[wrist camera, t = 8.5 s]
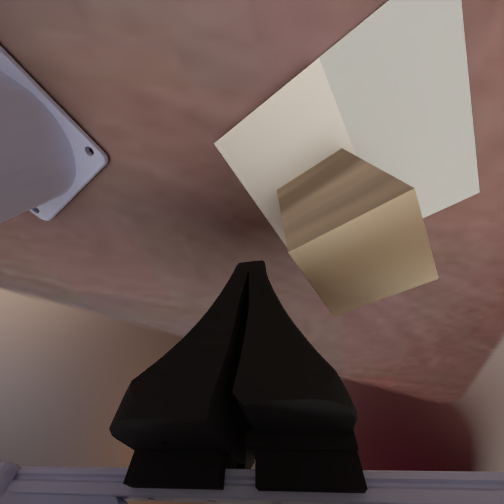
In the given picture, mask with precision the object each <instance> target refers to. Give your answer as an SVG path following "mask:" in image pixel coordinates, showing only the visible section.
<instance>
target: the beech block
mask: <svg viewBox="0 0 504 504" xmlns="http://www.w3.org/2000/svg"><path fill="white" fill-rule="evenodd" d="M277 194H278V200H279V205H280V211H281V216H282V222H283V227H284V233H285V238H286V244H287V249H288V253H289V254H290V256H291V257H292V259H293V260H294V261H295V263H296V264H297V266H298V267H299V268H300V270H301V271H302V273H303V274H304V275H305V277H306V278H307V280H308V281H309V282H310V284H311V285H312V287H313V288H314V289H315V291H316V292H317V294H318V295H319V297H320V298H321V299H322V301H323V302H324V304H325V305H326V306H327V308H328V309H329V311H330V312H331V313H332V315H333V316H336V315H339V314H341V313H344V312H347V311H350V310H353V309H355V308H358V307H361V306H364V305H367V304H369V303H372V302H375V301H378V300H381V299H383V298H386V297H389V296H392V295H394V294H397V293H400V292H403V291H406V290H408V289H411V288H414V287H417V286H420V285H422V284H425V283H428V282H431V281H433V280H436V279H439V278H438V274H437V270H436V267H435V263H434V259H433V255H432V252H431V248H430V244H429V240H428V237H427V233H426V229H425V225H424V221H423V218H422V214H421V210H420V206H419V203H418V199H417V195H416V191H415V188H414V187H412V186H410V185H408V184H406V183H404V182H403V181H401V180H399V179H397V178H395V177H394V176H392V175H390V174H388V173H386V172H384V171H383V170H381V169H379V168H377V167H375V166H374V165H372V164H370V163H368V162H366V161H364V160H363V159H361V158H359V157H357V156H355V155H354V154H352V153H350V152H348V151H346V150H344V149H343V148H342V149H340V150H338V151H337V152H335V153H334V154H332V155H331V156H329V157H327V158H326V159H324V160H323V161H321V162H320V163H318V164H316V165H315V166H313V167H312V168H310V169H309V170H307V171H305V172H304V173H302V174H301V175H299V176H298V177H296V178H294V179H293V180H291V181H290V182H288V183H286V184H285V185H283V186H282V187H280V188H279V189H277Z"/></svg>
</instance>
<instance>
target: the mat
mask: <svg viewBox="0 0 504 504" xmlns="http://www.w3.org/2000/svg"><path fill="white" fill-rule="evenodd" d="M319 59H320V62H321V64H322V67H323V70H324V72H325V75H326V78H327V80H328V83H329V85H330V88H331V91H332V93H333V96H334V98H335V101H336V104H337V106H338V109H339V112H340V114H341V117H342V119H343V122H344V125H345V127H346V130H347V133H348V135H349V138H350V140H351V143H352V146H353V148H354V151H355V153H356V156H357V157H359V158H361V159H363V160H364V161H366V162H368V163H370V164H372V165H374V166H375V167H377V168H379V169H381V170H383V171H384V172H386V173H388V174H390V175H392V176H394V177H395V178H397V179H399V180H401V181H403V182H404V183H406V184H408V185H410V186H412V187H414V188H415V191H416V195H417V199H418V203H419V206H420V210H421V214H422V218H425V217H427V216H429V215H431V214H433V213H435V212H438V211H440V210H442V209H444V208H446V207H449V206H451V205H453V204H455V203H457V202H460V201H462V200H464V199H466V198H468V197H471V196H473V195H475V194H477V193H479V181H478V171H477V160H476V150H475V139H474V129H473V118H472V108H471V98H470V87H469V77H468V66H467V56H466V45H465V35H464V24H463V14H462V3H461V0H389V1H387V2H386V3H385V4H384V5H382V6H381V7H380V8H379V9H378V10H376V11H375V12H374V13H373V14H371V15H370V16H369V17H368V18H367V19H365V20H364V21H363V22H362V23H360V24H359V25H358V26H357V27H356V28H354V29H353V30H352V31H351V32H349V33H348V34H347V35H346V36H345V37H343V38H342V39H341V40H340V41H338V42H337V43H336V44H335V45H334V46H332V47H331V48H330V49H329V50H327V51H326V52H325V53H324V54H323V55H321V56H320V57H319ZM316 60H317V59H316Z"/></svg>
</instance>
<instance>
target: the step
mask: <svg viewBox="0 0 504 504" xmlns="http://www.w3.org/2000/svg"><path fill="white" fill-rule="evenodd" d="M214 144H215V146H216V147H217V149H218V150H219V152H220V153H221V154H222V156H223V157H224V159H225V160H226V162H227V163H228V164H229V166H230V167H231V169H232V170H233V172H234V173H235V174H236V176H237V177H238V179H239V180H240V181H241V183H242V184H243V186H244V187H245V189H246V190H247V191H248V193H249V194H250V196H251V197H252V199H253V200H254V201H255V203H256V204H257V206H258V207H259V209H260V210H261V211H262V213H263V214H264V216H265V217H266V219H267V220H268V221H269V223H270V224H271V226H272V227H273V228H274V230H275V231H276V233H277V234H278V236H279V237H280V238H281V240H282V241H283V243H284V244H285V246H286V247H287V244H286V238H285V233H284V227H283V222H282V216H281V211H280V205H279V200H278V194H277V189H279V188H280V187H282V186H283V185H285V184H286V183H288V182H290V181H291V180H293V179H294V178H296V177H298V176H299V175H301V174H302V173H304V172H305V171H307V170H309V169H310V168H312V167H313V166H315V165H316V164H318V163H320V162H321V161H323V160H324V159H326V158H327V157H329V156H331V155H332V154H334V153H335V152H337V151H338V150H340V149H342V148H343V149H344V150H346V151H348V152H350V153H352V154H354V155H355V156H356V153H355V151H354V148H353V146H352V143H351V140H350V138H349V135H348V133H347V130H346V127H345V125H344V122H343V119H342V117H341V114H340V112H339V109H338V106H337V104H336V101H335V98H334V96H333V93H332V91H331V88H330V85H329V83H328V80H327V78H326V75H325V72H324V70H323V67H322V64H321V62H320V59H319V58H318V59H317V60H315V61H314V62H313V63H312V64H310V65H309V66H308V67H307V68H305V69H304V70H303V71H302V72H301V73H299V74H298V75H297V76H296V77H294V78H293V79H292V80H291V81H290V82H288V83H287V84H286V85H285V86H283V87H282V88H281V89H280V90H279V91H277V92H276V93H275V94H274V95H272V96H271V97H270V98H269V99H268V100H266V101H265V102H264V103H263V104H261V105H260V106H259V107H258V108H257V109H255V110H254V111H253V112H252V113H250V114H249V115H248V116H247V117H246V118H244V119H243V120H242V121H241V122H239V123H238V124H237V125H236V126H235V127H233V128H232V129H231V130H230V131H228V132H227V133H226V134H225V135H224V136H222V137H221V138H220V139H219V140H218V141H216V142H215V143H214Z"/></svg>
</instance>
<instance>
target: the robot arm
mask: <svg viewBox="0 0 504 504" xmlns="http://www.w3.org/2000/svg"><path fill="white" fill-rule="evenodd" d="M89 147H90V148H92V150H93V151H94V154H92V153H91V152H90V150H89ZM107 163H108V157H107V155H106V154H105V152H104V151H103V150H102V149H101V148H100V147H99V146H98V145H97V144H96V143H95V142H94V141H93V140H92V139H91V138H90V137H89V136H88V135H87V134H86V133H85V132H84V131H83V130H82V129H81V128H80V127H79V126H78V125H77V124H76V123H75V122H74V121H73V120H72V119H71V118H70V117H69V116H68V114H67V113H66V112H65V111H64V110H63V109H62V108H61V107H60V106H59V105H58V104H57V103H56V102H55V101H54V100H53V99H52V98H51V97H50V96H49V95H48V94H47V93H46V92H45V91H44V90H43V89H42V88H41V87H40V86H39V85H38V84H37V83H36V82H35V81H34V80H33V79H32V78H31V77H30V76H29V75H28V74H27V72H26V71H25V70H24V69H23V68H22V67H21V66H20V65H19V64H18V63H17V62H16V61H15V60H14V59H13V58H12V57H11V56H10V55H9V54H8V53H7V52H6V51H5V50H4V49H3V48H2V47H1V46H0V224H1V223H3V222H5V221H7V220H9V219H11V218H14V217H16V216H18V215H20V214H22V213H24V212H27V211H31V212H32V213H33V214H35V215H36V216H37V217H39V218H40V219H42V220H45V221H49V220H51V219H52V218H54V217H55V216H56V215H57V214H58V213H59V212H60V211H61V210H62V209H63V208H64V207H65V206H66V205H67V204H68V203H69V202H70V201H71V200H72V199H73V198H74V197H75V196H76V195H77V194H78V193H79V192H80V191H81V190H82V189H83V188H84V187H85V186H86V185H87V184H88V183H89V182H90V181H91V180H92V179H93V178H94V177H95V176H96V175H97V174H98V173H99V172H100V171H101V170H102V169H103V168H104V167H105V166H106V165H107ZM38 209H39V210H38ZM356 421H357V412H356V409H355V407H354V404H353V402H352V400H351V397H350V395H349V393H348V391H347V389H346V388H345V386H344V384H343V382H342V381H341V379H340V377H339V376H338V374H337V372H336V371H335V370H334V368H333V367H332V366H331V365H330V364H329V363H328V362H327V361H326V360H325V359H324V358H323V357H322V356H321V355H320V354H319V353H318V352H317V351H316V350H315V348H314V347H313V346H312V345H311V344H310V343H309V342H308V340H307V339H306V338H305V337H304V335H303V334H302V333H301V332H300V330H299V329H298V328H297V327H296V325H295V324H294V323H293V321H292V320H291V318H290V317H289V316H288V314H287V313H286V311H285V310H284V308H283V306H282V305H281V303H280V301H279V299H278V298H277V296H276V294H275V292H274V290H273V288H272V286H271V284H270V281H269V279H268V276H267V273H266V268H265V262H264V261H262V260H261V261H252V262H243V263H238V265H237V266H236V268H235V270H234V272H233V274H232V276H231V277H230V279H229V281H228V282H227V284H226V286H225V287H224V289H223V290H222V292H221V293H220V295H219V296H218V298H217V299H216V300H215V302H214V303H213V305H212V306H211V307H210V309H209V310H208V311H207V312H206V314H205V315H204V316H203V317H202V318H201V320H200V321H199V322H198V323H197V324H196V325H195V326H194V327H193V328H192V329H191V330H190V332H189V333H188V334H187V335H186V336H185V337H184V338H183V339H182V340H181V341H180V342H178V343H177V344H176V345H175V346H174V347H173V348H172V349H171V350H170V351H168V352H167V353H166V354H165V355H164V356H163V357H162V358H160V359H159V360H158V361H157V362H156V363H154V364H153V365H152V366H150V367H149V368H148V369H146V370H145V371H144V372H143V373H141V374H140V375H139V376H138V377H136V378H135V379H133V380H132V381H131V384H130V385H129V387H128V389H127V391H126V393H125V395H124V397H123V399H122V401H121V404H120V406H119V408H118V410H117V412H116V415H115V417H114V419H113V421H112V423H111V426H110V428H109V429H110V432H111V434H112V436H113V437H115V438H116V439H117V440H119V441H121V442H122V443H124V444H125V445H127V446H129V447H130V448H132V449H133V450H135V451H134V454H133V457H132V460H131V463H130V465H129V468H113V467H112V468H111V467H107V468H106V467H27V466H24V467H23V466H22V467H20V466H19V465H18V464H16V463H13V462H10V461H5V460H0V504H128V503H127V501H126V500H134V501H135V500H136V501H137V500H138V501H166V502H167V501H168V502H197V503H229V504H504V472H459V471H458V472H457V471H456V472H455V471H453V472H452V471H373V470H366V471H365V470H362V466H361V463H360V459H359V456H358V452H357V451H358V445H357V441H356V438H355V434H354V428H355V425H356ZM255 462H256V463H255ZM254 463H255V469H251V467H252V466H253V464H254Z"/></svg>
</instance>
